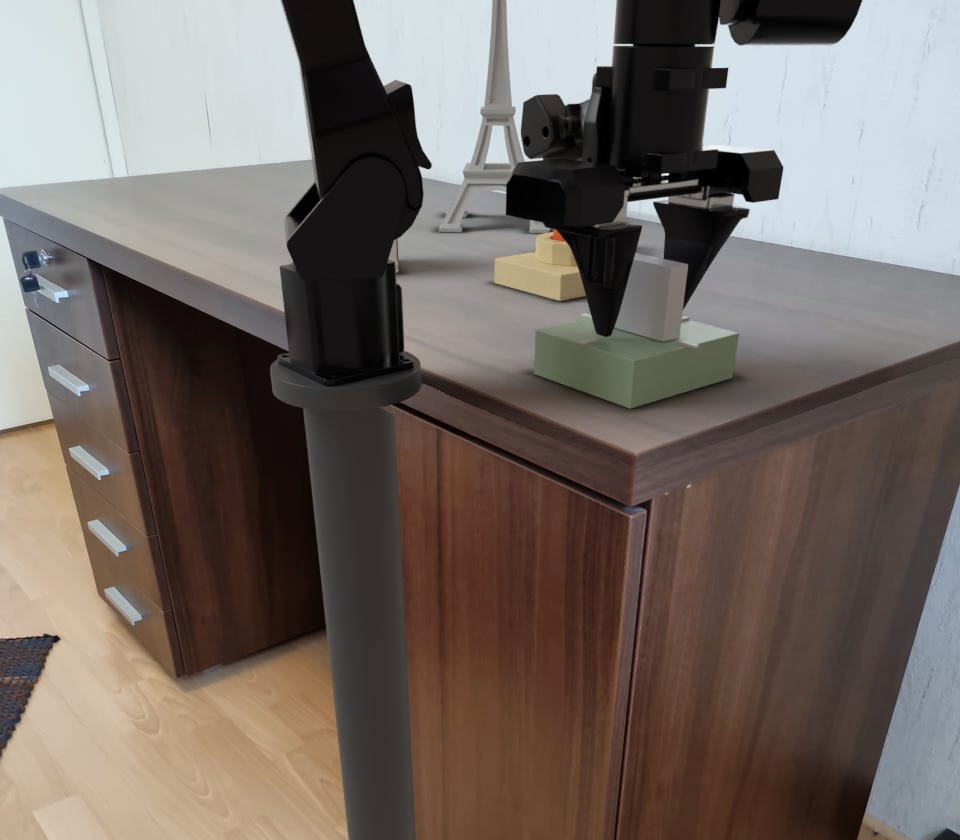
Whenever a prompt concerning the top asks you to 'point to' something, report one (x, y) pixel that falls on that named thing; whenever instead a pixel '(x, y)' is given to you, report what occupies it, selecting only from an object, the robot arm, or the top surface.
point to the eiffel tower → (494, 114)
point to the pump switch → (542, 270)
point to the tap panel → (634, 360)
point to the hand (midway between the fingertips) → (637, 327)
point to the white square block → (654, 298)
